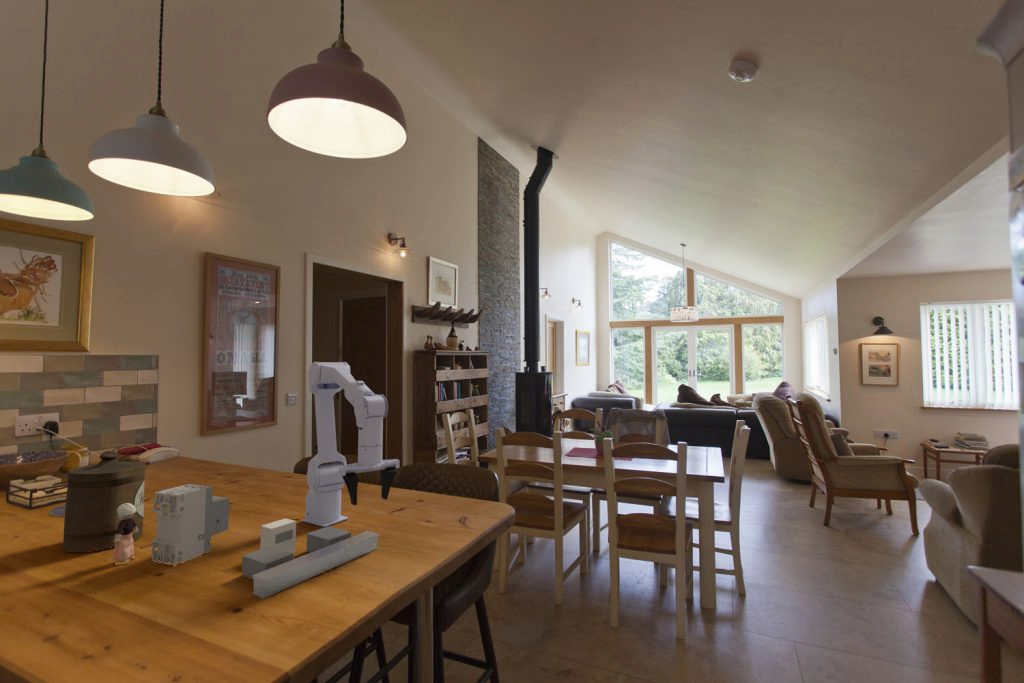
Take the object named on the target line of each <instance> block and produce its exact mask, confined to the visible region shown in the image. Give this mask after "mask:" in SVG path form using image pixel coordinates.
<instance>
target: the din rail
mask: <svg viewBox="0 0 1024 683" xmlns="http://www.w3.org/2000/svg"><path fill="white" fill-rule="evenodd" d="M378 537H380V533H377V532H373V531H369V530H366V531H363V532H361V533H358V534H355V535H353V536H351V537H350V538H348V539H345V540H342V541H340V542H337V543H335V544H332V545H329V546H327V547H324V548H322V549H319V550H317V551H314V552H308V553H306V554H304V555H301V556H299V557H297V558H296V557H295V558H293V560H291V561H288V562H286V563H283V564H280V565H278V566H275V567H273V568H270V569H267V570H265V571H262V572H260V573H257V574H254V575H252V578H254V580H253V594H254V595H253V596H255V595H256V596H255V597H257V596H258V597H257V598H259V597H260V598H259V599H262V600H264V599H265V598H268V597H270V596H273V595H275V594H277V593H279V592H282V591H284V590H286V588H287V589H289V588H291V587H294V586H296V585H298V584H300V583H303V582H305V581H307V580H309V579H312V578H313V576H314V577H316V576H319V575H321V574H323V573H325V572H328V571H330V570H332V569H335V568H337V567H339V566H341V565H343V564H346V563H348V562H349V561H352V560H355V559H358V558H359V557H362V556H364V555H366V554H368V553H370V552H373V551H375V550H378ZM334 567H335V568H334ZM327 570H328V571H327ZM322 572H323V573H322ZM320 573H321V574H320ZM318 574H319V575H318ZM315 575H316V576H315ZM311 577H312V578H311ZM302 581H303V582H302Z"/></svg>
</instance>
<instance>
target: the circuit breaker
mask: <svg viewBox="0 0 1024 683" xmlns="http://www.w3.org/2000/svg"><path fill="white" fill-rule="evenodd" d="M213 490H214V487H213V486H210V485H208V486H207V485H201V484H192V483H191V484H190V483H188V484H184V485H180V486H175V487H171V488H167V489H164V490H160V491H155V492H154V495H155V498H154V499H153V501H152V502H153V503H152V512H153V513H156V536H155V537H156V538H154V539H153V538H152V540H151V551H150V555H152V559H151V560H150V562H151V561H156V562H163V563H165V562H166V563H168V562H170V563H169V564H171V563H174V565H176V564H177V563H179V562H184V561H186V560H189V559H192V558H194V557H196V556H199V555H202V554H204V553H206V552H209V551H211V550H212V544H211V543H210V542H211V541H212V536H215V535H217V534H220V533H223V532H225V531H226V532H227V531H228V530H229V518H230V517H229V516H230V513H229V512H230V511H231V506H230V498H229V497H224V496H223V497H222V496H216V495H215V496H213V494H214V492H213ZM158 505H159V507H157V506H158ZM156 548H157V550H156ZM159 560H160V561H159Z"/></svg>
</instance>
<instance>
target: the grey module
mask: <svg viewBox="0 0 1024 683" xmlns="http://www.w3.org/2000/svg"><path fill="white" fill-rule="evenodd" d="M296 534H297V521H296V520H293V519H289V518H282V519H279V520H275V521H272V522H268V523H266V524H263V525H260V549H259V550H261V549H264V548H267V547H270V546H271V547H274V548H277V549H280V550H283V551H286V552H289V553H292V554H294V553H295V552H296V546H297V545H296V538H297V536H296ZM293 552H294V553H293Z"/></svg>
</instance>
